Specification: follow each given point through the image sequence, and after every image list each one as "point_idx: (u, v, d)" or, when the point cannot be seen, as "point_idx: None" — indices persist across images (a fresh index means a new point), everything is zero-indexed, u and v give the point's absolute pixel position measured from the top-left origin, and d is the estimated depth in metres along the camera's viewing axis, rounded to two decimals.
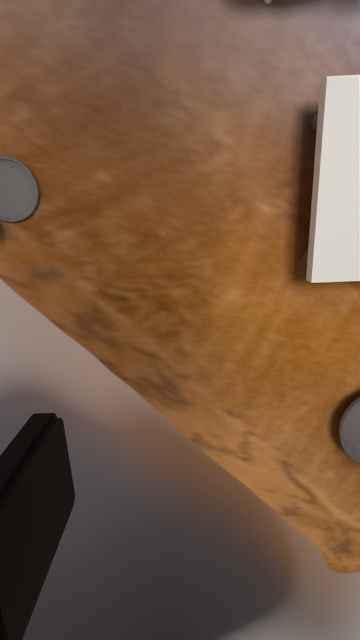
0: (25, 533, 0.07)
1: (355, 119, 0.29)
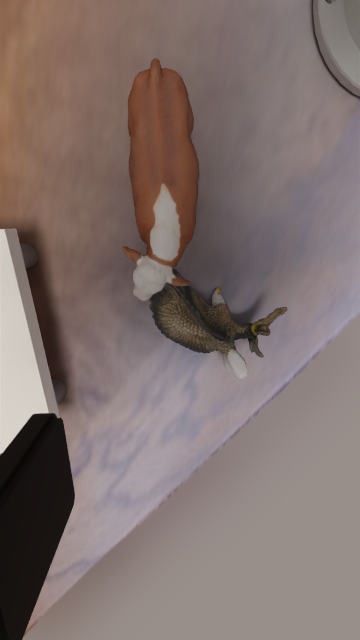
0: (24, 533, 0.07)
1: None
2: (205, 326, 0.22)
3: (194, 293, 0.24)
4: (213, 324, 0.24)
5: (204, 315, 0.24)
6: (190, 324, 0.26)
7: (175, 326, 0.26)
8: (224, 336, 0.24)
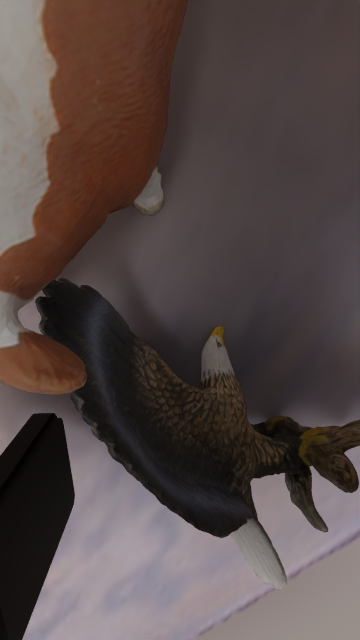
0: (24, 533, 0.07)
1: None
2: (163, 501, 0.06)
3: (148, 356, 0.08)
4: (198, 444, 0.09)
5: (173, 419, 0.08)
6: None
7: None
8: (226, 485, 0.08)
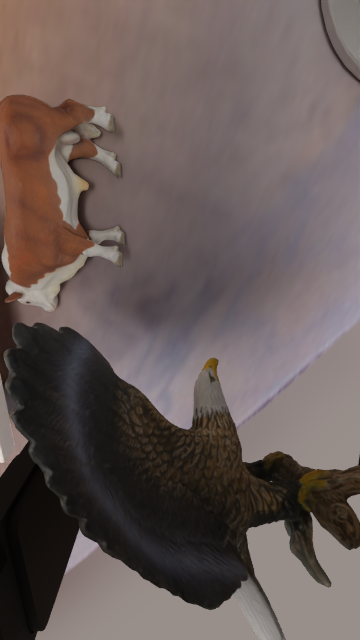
0: (50, 520, 0.07)
1: None
2: (145, 575, 0.06)
3: (134, 400, 0.08)
4: (189, 493, 0.08)
5: (162, 467, 0.08)
6: None
7: None
8: (219, 540, 0.08)
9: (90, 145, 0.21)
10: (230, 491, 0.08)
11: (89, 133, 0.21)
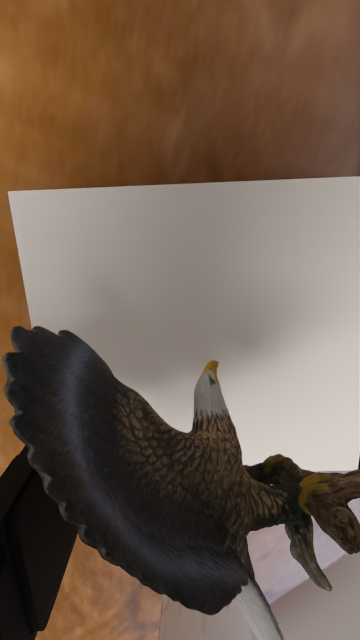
0: (50, 520, 0.07)
1: (323, 241, 0.16)
2: (144, 581, 0.06)
3: (134, 403, 0.08)
4: (189, 497, 0.08)
5: (161, 470, 0.08)
6: None
7: None
8: (219, 545, 0.08)
9: None
10: (230, 495, 0.08)
11: None
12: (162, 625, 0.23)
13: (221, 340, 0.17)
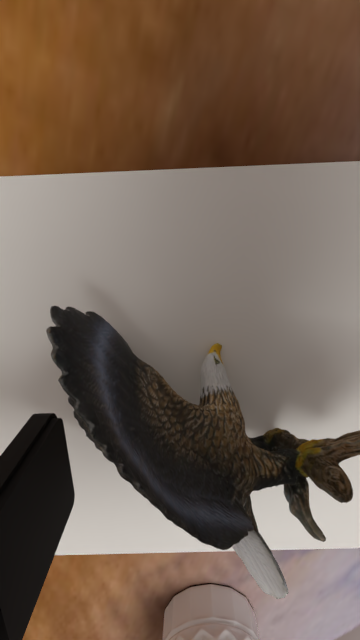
0: (25, 533, 0.07)
1: None
2: (168, 516, 0.07)
3: (151, 376, 0.09)
4: (199, 459, 0.09)
5: (175, 436, 0.09)
6: None
7: None
8: (227, 499, 0.09)
9: None
10: (236, 458, 0.09)
11: None
12: None
13: (233, 384, 0.13)
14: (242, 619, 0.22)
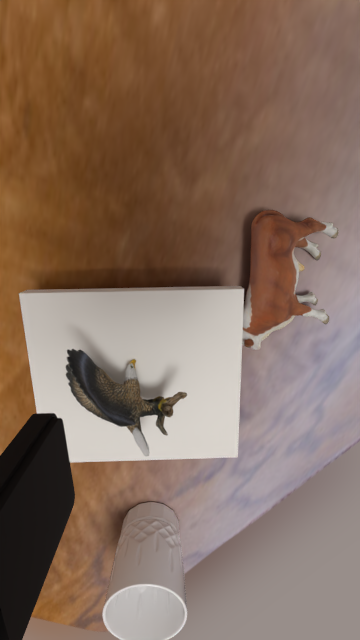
0: (24, 533, 0.07)
1: (201, 323, 0.27)
2: (102, 413, 0.22)
3: (101, 372, 0.25)
4: (119, 403, 0.25)
5: (109, 394, 0.25)
6: None
7: (86, 398, 0.26)
8: (127, 416, 0.24)
9: (303, 240, 0.31)
10: (133, 403, 0.25)
11: None
12: (113, 565, 0.34)
13: (146, 377, 0.28)
14: (168, 518, 0.38)
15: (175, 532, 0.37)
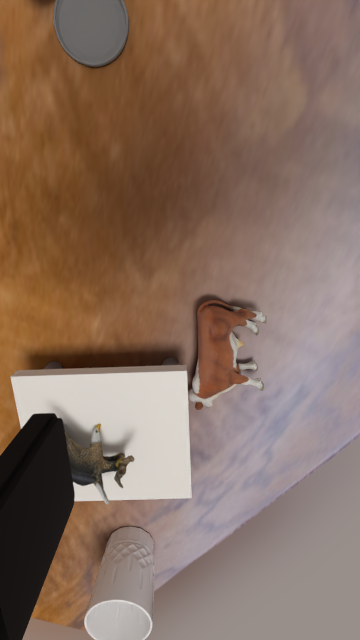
0: (24, 533, 0.07)
1: (154, 396, 0.34)
2: None
3: (69, 441, 0.32)
4: (83, 464, 0.32)
5: (76, 457, 0.32)
6: None
7: None
8: (90, 475, 0.32)
9: (243, 320, 0.37)
10: (96, 463, 0.32)
11: None
12: (95, 582, 0.41)
13: (113, 437, 0.35)
14: (143, 541, 0.45)
15: (148, 553, 0.44)
